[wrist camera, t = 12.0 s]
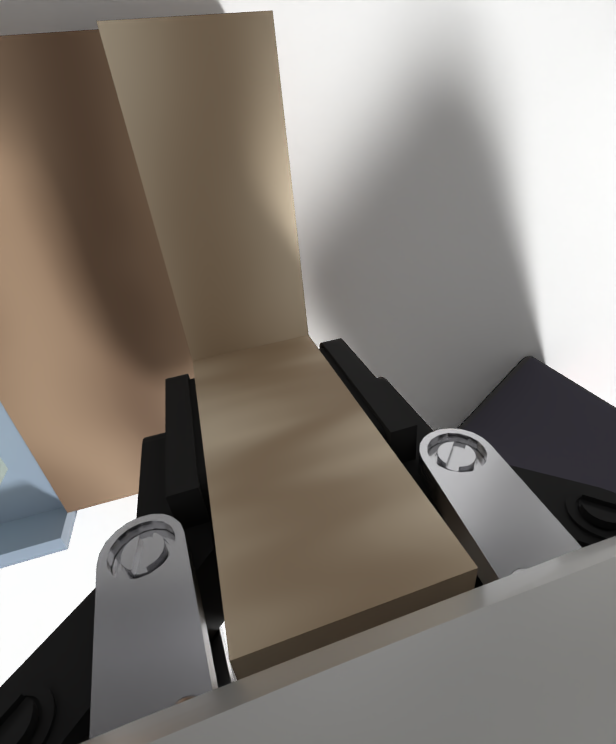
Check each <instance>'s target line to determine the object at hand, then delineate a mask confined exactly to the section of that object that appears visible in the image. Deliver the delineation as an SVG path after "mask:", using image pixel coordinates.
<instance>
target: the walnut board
mask: <svg viewBox="0 0 616 744" xmlns="http://www.w3.org/2000/svg"><path fill="white" fill-rule="evenodd" d="M184 374H189V377H190V379H192V378H195V377H194V369H193V361H192V357H191V354H190V350H189V347H188V343H187V340H186V336H185V333H184V329H183V325H182V322H181V318H180V315H179V311H178V308H177V304H176V301H175V297H174V294H173V290H172V287H171V283H170V279H169V276H168V272H167V269H166V265H165V262H164V258H163V255H162V251H161V248H160V244H159V241H158V237H157V234H156V230H155V226H154V223H153V219H152V216H151V212H150V209H149V205H148V202H147V198H146V195H145V191H144V188H143V184H142V180H141V177H140V173H139V170H138V166H137V163H136V159H135V156H134V152H133V149H132V145H131V142H130V138H129V134H128V131H127V127H126V124H125V120H124V117H123V113H122V110H121V106H120V103H119V99H118V96H117V92H116V88H115V85H114V81H113V78H112V74H111V71H110V67H109V64H108V60H107V57H106V53H105V50H104V46H103V42H102V39H101V35H100V32H99V29H97V30H81V31H66V32H51V33H36V34H21V35H6V36H0V402H1V403H2V405H3V407H4V408H5V410H6V412H7V413H8V415H9V417H10V418H11V420H12V422H13V423H14V425H15V427H16V428H17V430H18V431H19V433H20V435H21V436H22V438H23V440H24V441H25V443H26V445H27V446H28V448H29V450H30V451H31V453H32V455H33V456H34V458H35V460H36V461H37V463H38V465H39V466H40V468H41V470H42V471H43V473H44V475H45V476H46V478H47V480H48V481H49V483H50V485H51V486H52V488H53V490H54V491H55V493H56V495H57V496H58V498H59V500H60V501H61V503H62V505H63V506H64V508H65V510H66V511H67V513H69V512H73V511H76V510H80V509H84V508H87V507H91V506H95V505H98V504H102V503H106V502H109V501H113V500H117V499H120V498H124V497H128V496H131V495H135V494H138V492H139V478H140V464H141V451H142V441H143V439H144V438H145V437H149V436H153V435H157V434H161V433H165V379H167V378H171V377H175V376H180V375H184Z"/></svg>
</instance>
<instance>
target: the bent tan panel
mask: <svg viewBox="0 0 616 744" xmlns="http://www.w3.org/2000/svg"><path fill="white" fill-rule="evenodd" d="M97 25H98V28H99V32H100V35H101V39H102V42H103V46H104V50H105V53H106V57H107V60H108V64H109V67H110V71H111V74H112V78H113V81H114V85H115V88H116V92H117V96H118V99H119V103H120V106H121V110H122V113H123V117H124V120H125V124H126V127H127V131H128V134H129V138H130V142H131V145H132V149H133V152H134V156H135V159H136V163H137V166H138V170H139V173H140V177H141V180H142V184H143V188H144V191H145V195H146V198H147V202H148V205H149V209H150V212H151V216H152V219H153V223H154V226H155V230H156V234H157V237H158V241H159V244H160V248H161V251H162V255H163V258H164V262H165V265H166V269H167V272H168V276H169V279H170V283H171V287H172V290H173V294H174V297H175V301H176V304H177V308H178V311H179V315H180V318H181V322H182V325H183V329H184V333H185V336H186V340H187V343H188V347H189V350H190V354H191V357H192V361H193V369H194V377H195V385H196V393H197V401H198V409H199V417H200V425H201V433H202V442H203V450H204V458H205V466H206V474H207V482H208V490H209V498H210V506H211V515H212V523H213V531H214V539H215V547H216V555H217V563H218V571H219V579H220V587H221V596H222V604H223V612H224V620H225V628H226V636H227V644H228V652H229V660H230V663H231V666H232V668H233V671H234V673H235V675H236V678H237V680H240V679H243V678H245V677H248V676H250V675H253V674H255V673H258V672H260V671H263V670H265V669H268V668H271V667H273V666H276V665H278V664H281V663H283V662H286V661H288V660H291V659H294V658H296V657H299V656H301V655H304V654H306V653H309V652H312V651H314V650H317V649H319V648H322V647H324V646H327V645H330V644H332V643H335V642H337V641H340V640H343V639H345V638H348V637H350V636H353V635H355V634H358V633H361V632H363V631H366V630H368V629H371V628H374V627H376V626H379V625H381V624H384V623H387V622H389V621H392V620H394V619H397V618H399V617H402V616H405V615H407V614H410V613H412V612H415V611H418V610H420V609H423V608H425V607H428V606H431V605H433V604H436V603H438V602H441V601H444V600H446V599H449V598H451V597H454V596H457V595H459V594H462V593H464V592H467V591H470V590H472V589H474V587H475V581H476V576H477V571H478V567H477V566H476V564H475V563H474V561H473V560H472V559H471V557H470V556H469V555H468V553H467V552H466V550H465V549H464V548H463V546H462V545H461V544H460V542H459V541H458V540H457V538H456V537H455V535H454V534H453V533H452V531H451V530H450V529H449V527H448V526H447V524H446V523H445V522H444V520H443V519H442V518H441V516H440V515H439V513H438V512H437V511H436V509H435V508H434V507H433V505H432V504H431V503H430V501H429V500H428V498H427V497H426V496H425V494H424V493H423V492H422V490H421V489H420V487H419V486H418V485H417V483H416V482H415V481H414V479H413V478H412V476H411V475H410V474H409V472H408V471H407V470H406V468H405V467H404V465H403V464H402V463H401V461H400V460H399V459H398V457H397V456H396V455H395V453H394V452H393V450H392V449H391V448H390V446H389V445H388V444H387V442H386V441H385V439H384V438H383V437H382V435H381V434H380V433H379V431H378V430H377V428H376V427H375V426H374V424H373V423H372V422H371V420H370V419H369V417H368V416H367V415H366V413H365V412H364V411H363V409H362V408H361V407H360V405H359V404H358V402H357V401H356V400H355V398H354V397H353V396H352V394H351V393H350V391H349V390H348V389H347V387H346V386H345V385H344V383H343V382H342V380H341V379H340V378H339V376H338V375H337V374H336V372H335V371H334V369H333V368H332V367H331V365H330V364H329V363H328V361H327V360H326V359H325V357H324V356H323V354H322V353H321V352H320V350H319V349H318V348H317V346H316V345H315V343H314V342H313V341H312V339H311V338H310V337H309V335H308V327H307V318H306V309H305V300H304V290H303V281H302V272H301V263H300V254H299V245H298V236H297V227H296V218H295V209H294V200H293V191H292V182H291V173H290V164H289V155H288V146H287V137H286V128H285V119H284V110H283V101H282V92H281V83H280V74H279V64H278V55H277V46H276V37H275V28H274V19H273V11H257V12H240V13H223V14H206V15H190V16H173V17H156V18H140V19H123V20H106V21H97Z"/></svg>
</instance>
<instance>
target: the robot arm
mask: <svg viewBox="0 0 616 744" xmlns="http://www.w3.org/2000/svg"><path fill="white" fill-rule="evenodd" d="M319 350H320V352H321V353H322V354H323V356H324V357H325V359H326V360H327V361H328V363H329V364H330V365H331V367H332V368H333V369H334V371H335V372H336V374H337V375H338V376H339V378H340V379H341V380H342V382H343V383H344V385H345V386H346V387H347V389H348V390H349V391H350V393H351V394H352V396H353V397H354V398H355V400H356V401H357V402H358V404H359V405H360V407H361V408H362V409H363V411H364V412H365V413H366V415H367V416H368V417H369V419H370V420H371V422H372V423H373V424H374V426H375V427H376V428H377V430H378V431H379V433H380V434H381V435H382V437H383V438H384V439H385V441H386V442H387V444H388V445H389V446H390V448H391V449H392V450H393V452H394V453H395V455H396V456H397V457H398V459H399V460H400V461H401V463H402V464H403V465H404V467H405V468H406V470H407V471H408V472H409V474H410V475H411V476H412V478H413V479H414V481H415V482H416V483H417V485H418V486H419V487H420V489H421V490H422V492H423V493H424V494H425V496H426V497H427V498H428V500H429V501H430V503H431V504H432V505H433V507H434V508H435V509H436V511H437V512H438V513H439V515H440V516H441V518H442V519H443V520H444V522H445V523H446V524H447V526H448V527H449V529H450V530H451V531H452V533H453V534H454V535H455V537H456V538H457V540H458V541H459V542H460V544H461V545H462V546H463V548H464V549H465V550H466V552H467V553H468V555H469V556H470V557H471V559H472V560H473V561H474V563H475V564H476V566H477V567H478V571H477V576H476V581H475V587H474V589H472V590H470V591H467V592H464V593H462V594H459V595H457V596H454V597H451V598H449V599H446V600H444V601H441V602H438V603H436V604H433V605H431V606H428V607H425V608H423V609H420V610H418V611H415V612H412V613H410V614H407V615H405V616H402V617H399V618H397V619H394V620H392V621H389V622H387V623H384V624H381V625H379V626H376V627H374V628H371V629H368V630H366V631H363V632H361V633H358V634H355V635H353V636H350V637H348V638H345V639H343V640H340V641H337V642H335V643H332V644H330V645H327V646H324V647H322V648H319V649H317V650H314V651H312V652H309V653H306V654H304V655H301V656H299V657H296V658H294V659H291V660H288V661H286V662H283V663H281V664H278V665H276V666H273V667H271V668H268V669H265V670H263V671H260V672H258V673H255V674H253V675H250V676H248V677H245V678H243V679H240V680H237V681H235V682H234V679H233V675H232V670H231V666H230V661H229V657H228V652H227V648H226V643H225V639H224V634H223V630H222V627H221V625H222V623H223V622H224V612H223V604H222V596H221V587H220V579H219V571H218V563H217V555H216V547H215V539H214V531H213V523H212V515H211V506H210V498H209V490H208V482H207V474H206V466H205V458H204V450H203V442H202V433H201V425H200V417H199V409H198V401H197V393H196V385H195V378H192V379H190V377H189V374H184V375H180V376H175V377H171V378H167V379H165V433H161V434H157V435H153V436H149V437H145V438H144V439H143V441H142V451H141V464H140V478H139V492H138V505H137V519H135V520H132V521H130V522H128V523H126V524H125V525H124V526H122V527H121V528H120V529H118V530H117V531H116V532H115V533H114V534H113V535H112V536H111V537H110V538H109V539H108V540H107V541H106V543H105V545H104V546H103V548H102V550H101V552H100V553H99V557H98V562H97V569H96V588H95V589H94V590H93V591H92V592H91V593H90V594H89V595H88V596H87V597H86V598H85V599H84V600H83V601H82V602H81V603H80V605H79V606H78V607H77V608H76V609H75V610H74V611H73V612H72V613H71V614H70V615H69V616H68V617H67V618H66V619H65V620H64V621H63V622H62V623H61V624H60V625H59V626H58V627H57V629H56V630H55V631H54V632H53V633H52V634H51V635H50V636H49V637H48V638H47V639H46V640H45V641H44V642H43V643H42V644H41V645H40V646H39V647H38V648H37V649H36V650H35V651H34V653H33V654H32V655H31V656H30V657H29V658H28V659H27V660H26V661H25V662H24V663H23V664H22V665H21V666H20V667H19V668H18V669H17V670H16V671H15V672H14V673H13V674H12V675H11V677H10V678H9V679H8V680H7V681H6V682H5V683H4V684H3V685H2V686H1V687H0V744H616V493H614V492H612V491H609V490H606V489H603V488H600V487H596V486H592V485H588V484H584V483H580V482H576V481H572V480H568V479H564V478H560V477H556V476H552V475H548V474H544V473H540V472H536V471H532V470H528V469H524V468H520V467H516V466H512V465H508V464H507V463H506V461H505V460H504V459H503V458H502V457H501V456H500V455H499V454H498V452H497V451H496V450H495V449H494V448H493V447H492V446H491V445H490V444H489V443H488V442H487V441H486V440H485V439H484V438H482V437H480V436H479V435H477V434H475V433H473V432H469V431H466V430H462V429H453V428H448V429H439V430H436V431H433V430H432V429H431V428H430V427H429V426H428V425H427V424H426V422H425V421H424V420H423V419H422V418H421V417H420V416H419V415H418V414H417V413H416V412H415V410H414V409H413V408H412V407H411V406H410V405H409V404H408V403H407V402H406V401H405V399H404V398H403V397H402V396H401V395H400V394H399V393H398V392H397V391H396V390H395V389H394V387H393V386H392V385H391V384H390V383H389V382H388V381H387V380H386V379H385V378H383V377H379V378H376V377H375V376H374V375H373V374H372V373H371V371H370V370H369V369H368V368H367V367H366V366H365V365H364V363H363V362H362V361H361V360H360V359H359V358H358V357H357V355H356V354H355V353H354V352H353V351H352V350H351V349H350V347H349V346H348V345H347V344H346V343H345V342H344V341H343V340H342V339H341V338H340V339H336V340H331V341H327V342H323V343H320V349H319Z"/></svg>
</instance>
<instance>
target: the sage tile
mask: <svg viewBox="0 0 616 744" xmlns="http://www.w3.org/2000/svg"><path fill="white" fill-rule="evenodd" d="M7 470H8V468H7V467H6V465H5V464H4V462H3V461H2V459H1V458H0V484H1V482H2V480H3V478H4V476H5V474H6V472H7Z"/></svg>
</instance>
